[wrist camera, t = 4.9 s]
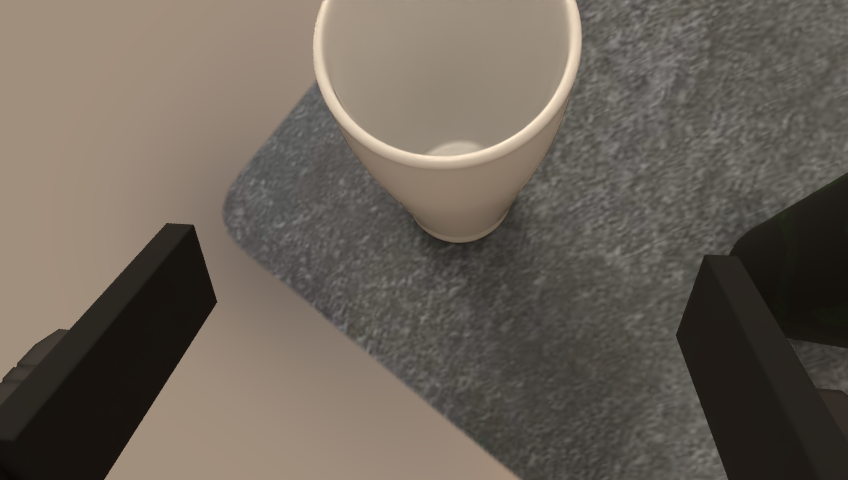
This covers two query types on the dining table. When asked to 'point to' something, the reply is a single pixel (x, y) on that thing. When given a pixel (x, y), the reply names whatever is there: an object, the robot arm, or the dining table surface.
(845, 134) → the dining table surface
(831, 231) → the cup
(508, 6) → the drinking glass
